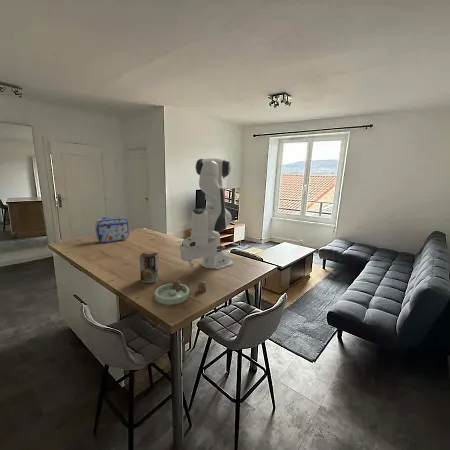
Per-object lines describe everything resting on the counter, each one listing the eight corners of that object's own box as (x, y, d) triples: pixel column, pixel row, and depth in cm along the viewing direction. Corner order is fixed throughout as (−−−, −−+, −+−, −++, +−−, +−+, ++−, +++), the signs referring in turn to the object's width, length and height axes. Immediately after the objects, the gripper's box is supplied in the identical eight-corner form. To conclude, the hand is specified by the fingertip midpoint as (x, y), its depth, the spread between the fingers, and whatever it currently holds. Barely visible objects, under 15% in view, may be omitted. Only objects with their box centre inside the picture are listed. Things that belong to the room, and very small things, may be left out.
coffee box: (159, 278, 145) (158, 252, 142) (156, 282, 139) (155, 256, 135) (143, 277, 145) (142, 252, 141) (140, 282, 138) (139, 255, 135)
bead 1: (171, 291, 127) (171, 282, 126) (174, 287, 131) (174, 279, 130) (178, 292, 127) (178, 283, 125) (181, 288, 130) (181, 280, 129)
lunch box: (97, 244, 206) (95, 219, 201) (94, 241, 213) (92, 217, 209) (130, 239, 223) (128, 216, 218) (126, 237, 231) (125, 214, 226)
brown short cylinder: (203, 288, 134) (203, 280, 133) (207, 291, 131) (207, 282, 130) (197, 290, 132) (197, 281, 131) (200, 293, 129) (200, 284, 128)
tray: (181, 285, 136) (181, 280, 135) (194, 299, 122) (194, 293, 121) (151, 292, 127) (151, 287, 126) (161, 308, 113) (161, 302, 112)
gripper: (213, 236, 134) (212, 259, 137) (179, 241, 122) (179, 267, 125) (219, 238, 129) (218, 263, 132) (184, 244, 117) (185, 271, 120)
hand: (199, 265), depth 128 cm, fingers open, 8 cm apart
